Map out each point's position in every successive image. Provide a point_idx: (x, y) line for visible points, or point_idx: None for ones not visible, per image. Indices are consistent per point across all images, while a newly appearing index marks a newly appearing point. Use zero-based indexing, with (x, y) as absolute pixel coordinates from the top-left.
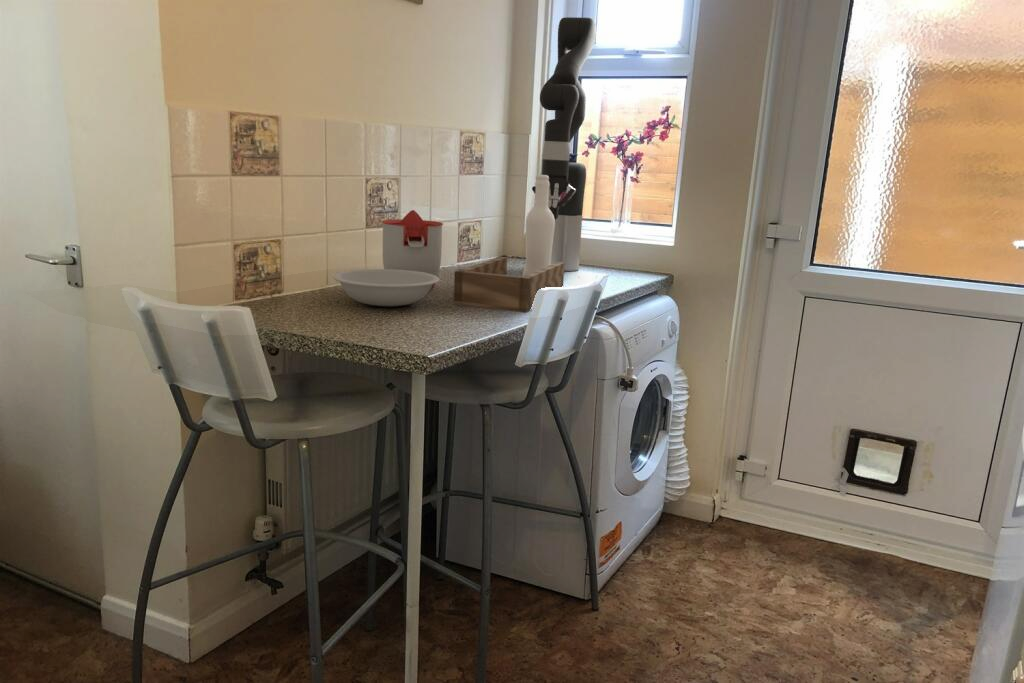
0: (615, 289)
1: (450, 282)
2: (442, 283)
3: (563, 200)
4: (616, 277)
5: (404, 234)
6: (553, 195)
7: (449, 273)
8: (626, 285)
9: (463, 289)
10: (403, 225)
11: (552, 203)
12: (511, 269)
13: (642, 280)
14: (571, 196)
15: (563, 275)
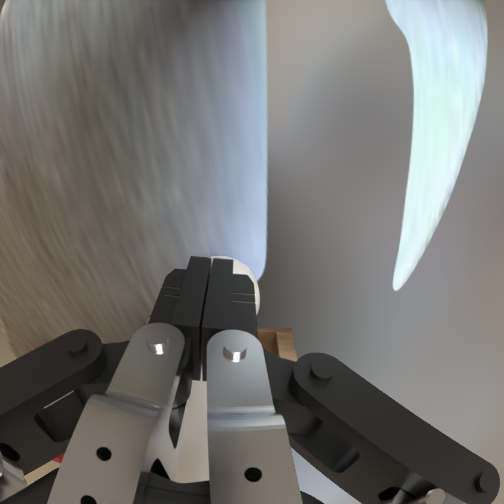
0: (406, 243)
1: (66, 316)
2: (66, 329)
3: (323, 451)
4: (412, 39)
5: (64, 453)
6: (151, 452)
7: (8, 216)
8: (436, 171)
9: None
10: (60, 462)
11: (176, 374)
12: (83, 40)
13: (466, 76)
14: (430, 445)
15: (296, 356)
